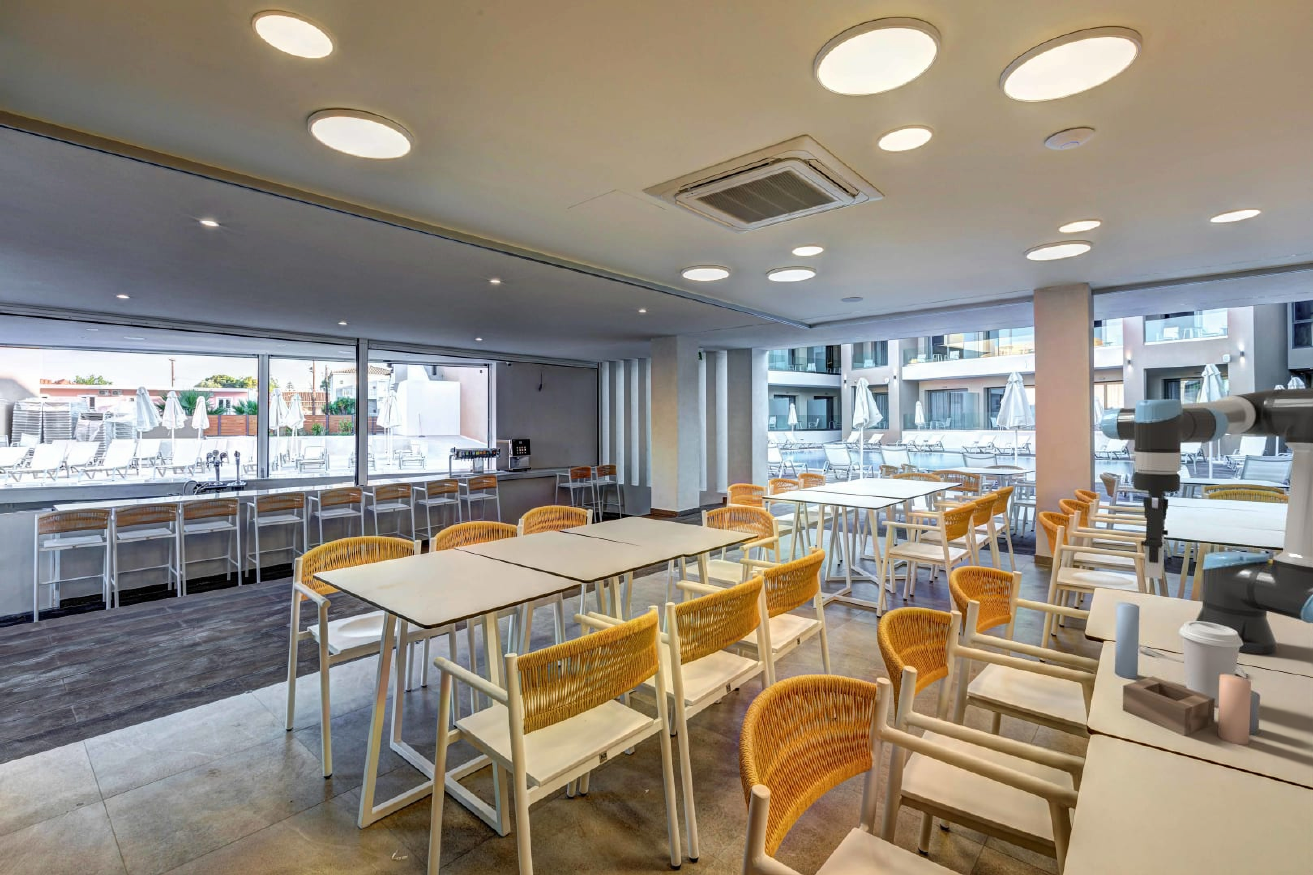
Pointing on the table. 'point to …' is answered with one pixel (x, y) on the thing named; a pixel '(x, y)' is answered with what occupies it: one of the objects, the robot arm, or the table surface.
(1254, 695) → the short dowel
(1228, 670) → the coffee cup
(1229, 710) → the medium dowel
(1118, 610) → the tall dowel
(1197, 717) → the socket block
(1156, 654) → the silver metal utensil
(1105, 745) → the table surface
